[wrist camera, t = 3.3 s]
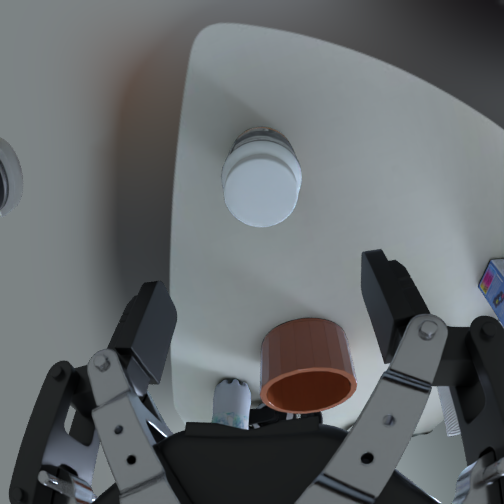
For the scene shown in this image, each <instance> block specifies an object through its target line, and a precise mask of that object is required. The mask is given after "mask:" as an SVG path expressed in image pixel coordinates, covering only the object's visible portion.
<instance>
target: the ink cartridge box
mask: <svg viewBox="0 0 504 504" xmlns="http://www.w3.org/2000/svg"><path fill="white" fill-rule="evenodd" d="M478 287H479V289H480V290H481V292H482V293H483V295H484V296H485V298H486V299H487V301H488V302H489V304H490V305H491V307H492V309H493V310H494V312H495V313H496V315H497V317H498V318H499V320H500V322H501V323H502V325H503V327H504V259H497V260H491V261H490V263H489V265H488V267H487V269H486V272H485V274H484V276H483V278H482V280H481V282H480V284H479V286H478Z"/></svg>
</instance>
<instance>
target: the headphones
mask: <svg viewBox="0 0 504 504" xmlns="http://www.w3.org/2000/svg"><path fill="white" fill-rule="evenodd" d="M315 416H318V418H319V424H323V418H322V413H321V411H319V412H313V413H305V414H302V416H301V418H307V417H315ZM296 418H297V416H296V414H294V413H286V412H280V411H277V410H274V409H272V408H270V407H268V406H267V405H266V404H264V403H261V404H260V405H259V406H258V407H257V408H256V409H250V411H249V425H252V427H253V428H249V427H248V430H251V429H255V428H259V427H262V426H266V425H269V424H273V423H276V422H279V421H282V420H288V419H296Z"/></svg>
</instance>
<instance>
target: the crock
mask: <svg viewBox="0 0 504 504" xmlns="http://www.w3.org/2000/svg"><path fill="white" fill-rule="evenodd" d="M356 388H357V379H356V374H355V369H354V365H353V360H352V356H351V352H350V347H349V343H348V339H347V337H346V334H345V332H344V330H343V329H342V328H341V327H340V326H338V325H337V324H335V323H333V322H331V321H328V320H324V319H318V318H304V319H297V320H293V321H289V322H286V323H284V324H281V325H279V326H277V327H276V328H274V329H273V330H272V331H270V332H269V333H268V334H267V335H266V337H265V338H264V340H263V342H262V346H261V363H260V397H261V399H262V402H263V403H264V404H266V405H267V406H268V407H270V408H272V409H274V410H277V411H280V412H286V413H294V414H305V413H313V412H319V411H323V410H327V409H330V408H333V407H335V406H337V405H339V404H341V403H343V402H345V401H346V400H347V399H349V398H350V397H351V396H352V395H353V393H354V392H355V391H356Z"/></svg>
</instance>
